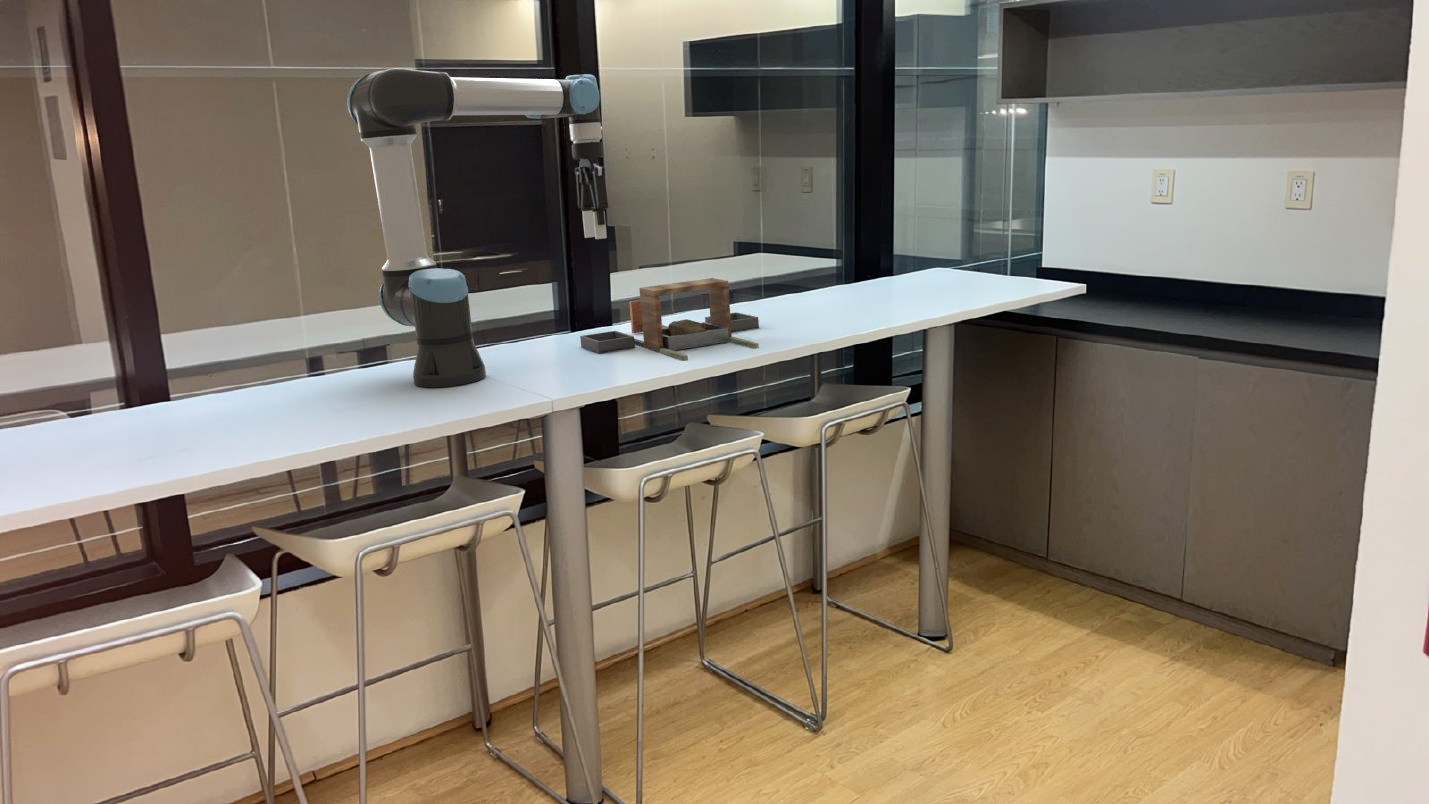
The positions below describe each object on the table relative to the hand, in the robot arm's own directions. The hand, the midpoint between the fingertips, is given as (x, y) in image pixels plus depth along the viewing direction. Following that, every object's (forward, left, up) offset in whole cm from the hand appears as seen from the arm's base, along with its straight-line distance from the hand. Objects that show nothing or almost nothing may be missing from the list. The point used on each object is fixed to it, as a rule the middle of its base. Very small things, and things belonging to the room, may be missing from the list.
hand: (595, 237), depth 261 cm
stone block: (+11, -25, -25) cm, 37 cm away
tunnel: (+11, -23, -25) cm, 36 cm away
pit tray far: (+29, -14, -25) cm, 41 cm away
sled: (+11, -16, -25) cm, 31 cm away
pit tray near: (-5, -14, -25) cm, 29 cm away
